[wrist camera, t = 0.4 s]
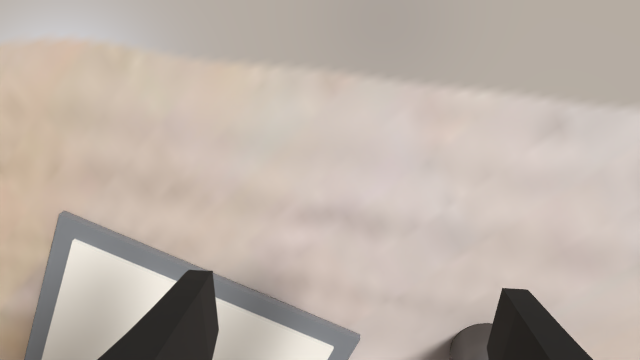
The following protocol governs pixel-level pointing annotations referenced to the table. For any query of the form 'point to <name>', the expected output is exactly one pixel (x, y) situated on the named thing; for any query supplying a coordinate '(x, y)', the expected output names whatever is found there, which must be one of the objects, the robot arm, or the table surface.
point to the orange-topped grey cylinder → (471, 343)
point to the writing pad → (145, 291)
